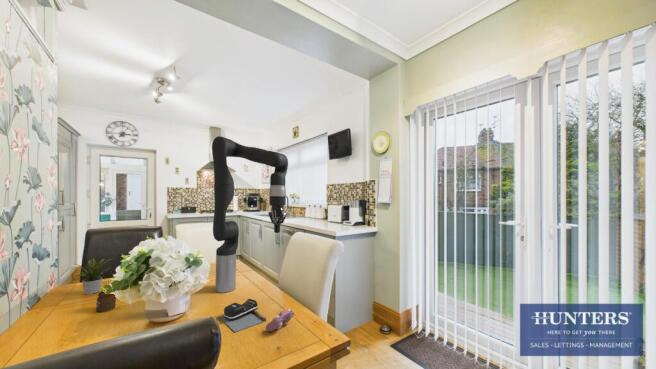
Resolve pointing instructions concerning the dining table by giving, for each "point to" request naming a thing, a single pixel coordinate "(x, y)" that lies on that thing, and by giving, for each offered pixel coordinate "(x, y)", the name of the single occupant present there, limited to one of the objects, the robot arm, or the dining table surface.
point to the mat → (242, 322)
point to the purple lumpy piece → (280, 320)
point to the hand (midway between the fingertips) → (277, 232)
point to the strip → (259, 315)
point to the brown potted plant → (105, 301)
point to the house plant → (92, 277)
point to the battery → (239, 309)
